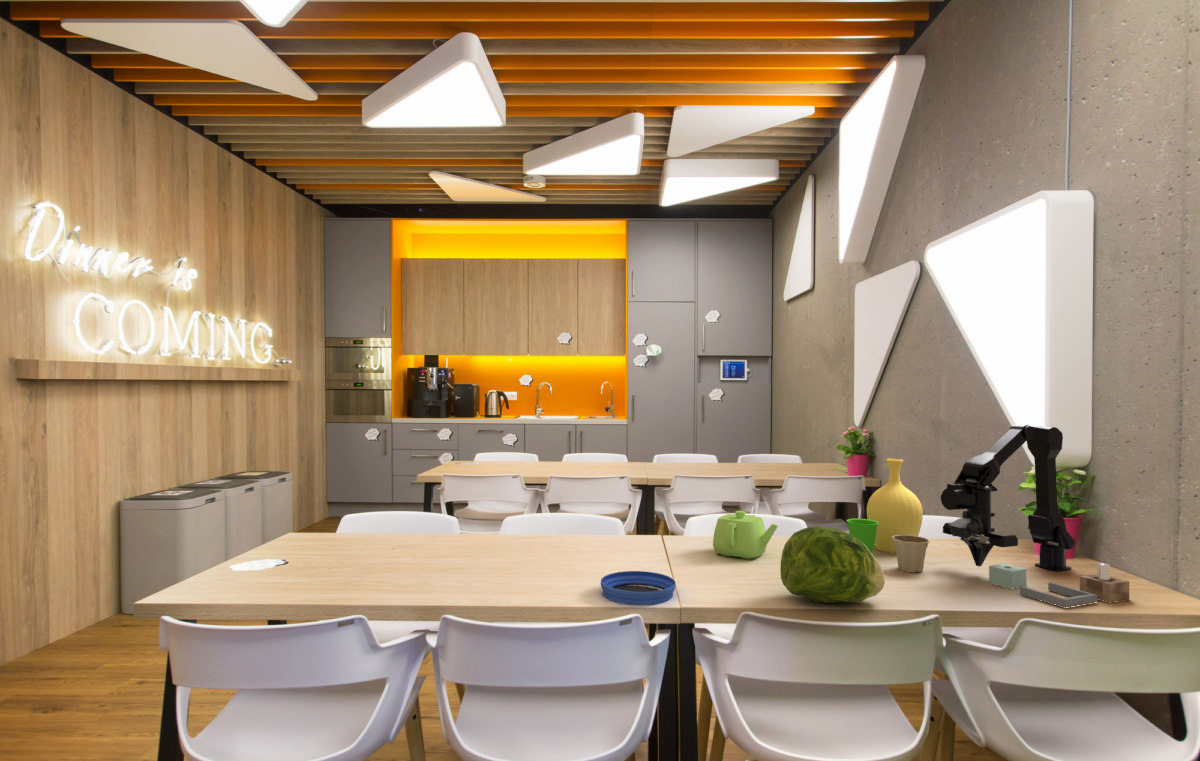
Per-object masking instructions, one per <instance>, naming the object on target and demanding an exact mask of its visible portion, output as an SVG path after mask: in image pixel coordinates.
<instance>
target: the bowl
mask: <svg viewBox="0 0 1200 761" xmlns="http://www.w3.org/2000/svg"><path fill="white" fill-rule="evenodd" d="M676 585H677V584H676V581H675V579H674V578H672V577H671V576H669V575H666V574H663V573H658V572H654V571H653V572H652V571H645V570H627V571H626V570H625V571H618V572H611V573H609V574H606V575H604V576H602V578H601V579H600V587H601V590H602V596H604V598H605V599H607V600H609V601H612V602H614V603H617V604H620V605H621V604H622V605H628V606H653V605H658V604H664V603H666V602H668V601H669V600H672V598H673V596H674V592H675V590H676Z"/></svg>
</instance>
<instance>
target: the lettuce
mask: <svg viewBox="0 0 1200 761" xmlns="http://www.w3.org/2000/svg"><path fill="white" fill-rule="evenodd" d="M781 553H782V554H781V558H780V568H779V569H780V579H781V582H782V585H783V586H784V587H785V588H786V590H787V591H788V592H789V593H790V594H792V595H796V596H801V597H802V598H804V599H808V600H810V601H813V602H818V603H825V604H826V603H827V604H829V603H831V604H833V603H834V604H855V603H859V602H863V601H864V600H867V599H868V598H872V597H875V596H877V595H878V594H879V593H880V592H881V591H882V590H883V588H884V587H885V583H886V582H885V578H886V577H885V574H884V570H883V568H882V567H881V564H880V563H879V561H878V560H877V558H876V557H875V556H874V554H873V555H872V553H871V552H870V551H869V549H868V548H867V546H866V545H865V544H864V543H862V542H861V541H860V540H859V539H857V538H856V537H854V536H853V535H851V534H849V532H847V531H844V530H842V529H838V528H833V527H828V526H827V527H826V526H821V525H815V526H809V527H805V528H802V529H799V530H798V531H795V532H794V533H792V535H790V537H788V539H787V541H786V542H785V544H784V546H783V549H782V551H781Z"/></svg>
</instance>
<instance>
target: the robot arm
mask: <svg viewBox="0 0 1200 761" xmlns="http://www.w3.org/2000/svg"><path fill="white" fill-rule="evenodd" d="M1063 439H1064V436H1063V432H1062V430H1060V429H1059V428H1058V427H1055V426H1041V425H1034V426H1033V425H1032V426H1031V425H1028V424H1018V423H1016V424H1015V423H1014V424H1012V425H1011V426H1010V427H1009V429H1008V430H1007V432H1006V433H1005V434H1003V436H1001V437H1000V438H999V439H998V440H997V441H996V442H995V443H994V444H993V445H992V446H991V447H990V448H988V450H986V451H985V452H984V453H982V454H979V455H975V456H974V457H971V458H970V459H969V460H966V461H965V462H964V464H963V465H962V469H961V470H960V472H959V474H958V475H957V477H956V478H955V481H954V482H953V483H947V485H946V488H945V489H944V490H943V491H942V492H941V495H940V501H941V505H942V506H943V507H944V508H945V509H946V510H948V511H955V510H963V512H962V517H960V518H957V519H955V520H954V521H951V522H944V525H943V526H942V534H946V535H949V536H953V537H959V539H960V541H962V542H964V543H965V544H966V545H967V546H968V548H969V551H970V553H971V555H972V558H973V561H974V564H975V566H976V567H982V566H983V564H984V563H985V560H986V559H987V557H988V555H989V553H990V552H991V551H992V549H993V547H994V546H995V547H997V548H998V547H999V548H1009V547H1010V548H1011V547H1018V546H1019V540H1018V537H1017V536H1016V535H1015V534H1012V533H1009V532H1005V531H1002V532H995V527H992V518H993V517H995V516H996V515H995V512H992V492H998V488H997V487H996V486H994V484H993V482H995V480H996V479H997V478H998V476H999V475H1000V473H1001V466H1003V464H1004V463H1005V462H1006V461H1007V460H1008V459H1010V457H1011V456H1012V455H1013V454H1014V453H1015V452H1017V451H1018V450H1019V449H1020V448H1021V447H1022V446H1023V445H1024V444H1025V443H1026V445H1027V449H1028V451H1029V452H1030V453H1031V456H1033V460H1034V476H1035V480H1034V481H1035V503H1036V504H1035V507H1036V508H1035V510H1034V511H1033V512H1032V514H1028V516H1027V520H1028V527H1027V530H1029V532H1030V535H1031V539H1032V542H1033V543H1034V544H1039V562H1036V563H1034V566H1036V567H1040V568H1044V569H1047V570H1051V571H1055V572H1056V571H1057V572H1059V571H1067V570H1072V569H1073V567H1072V566H1068V565H1067V550H1070V551H1071V549H1074V547H1075V543H1076V540H1075V539H1074V538H1073V537H1072V535H1071V534H1070V532H1068V530H1067V526H1066V520H1065V519H1064V517H1063V515H1062V514H1061V513H1060V511H1059V510H1058V508H1059V507H1058V490H1057V488H1058V486H1057V485H1058V484H1057V482H1058V481H1057V461H1056V459H1057V457H1058V456H1059V454H1060V453H1061V452H1062V450H1063V443H1064V442H1063Z"/></svg>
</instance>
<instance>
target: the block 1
mask: <svg viewBox="0 0 1200 761" xmlns="http://www.w3.org/2000/svg"><path fill="white" fill-rule="evenodd" d="M989 582H990V583H989ZM988 583H989V584H992V583H994V584H993V585H996V584H997V585H996V586H999V585H1001V586H1000V587H1003V586H1005V587H1004V588H1007V587H1009V588H1008V589H1011V588H1015V589H1017V588H1016V587H1019V588H1020V587H1021V586H1024V587H1027V568H1025V567H1021V566H1016V565H1011V564H1008V563H1003V562H1002V563H998V564H992V565H989V566H988Z"/></svg>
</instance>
